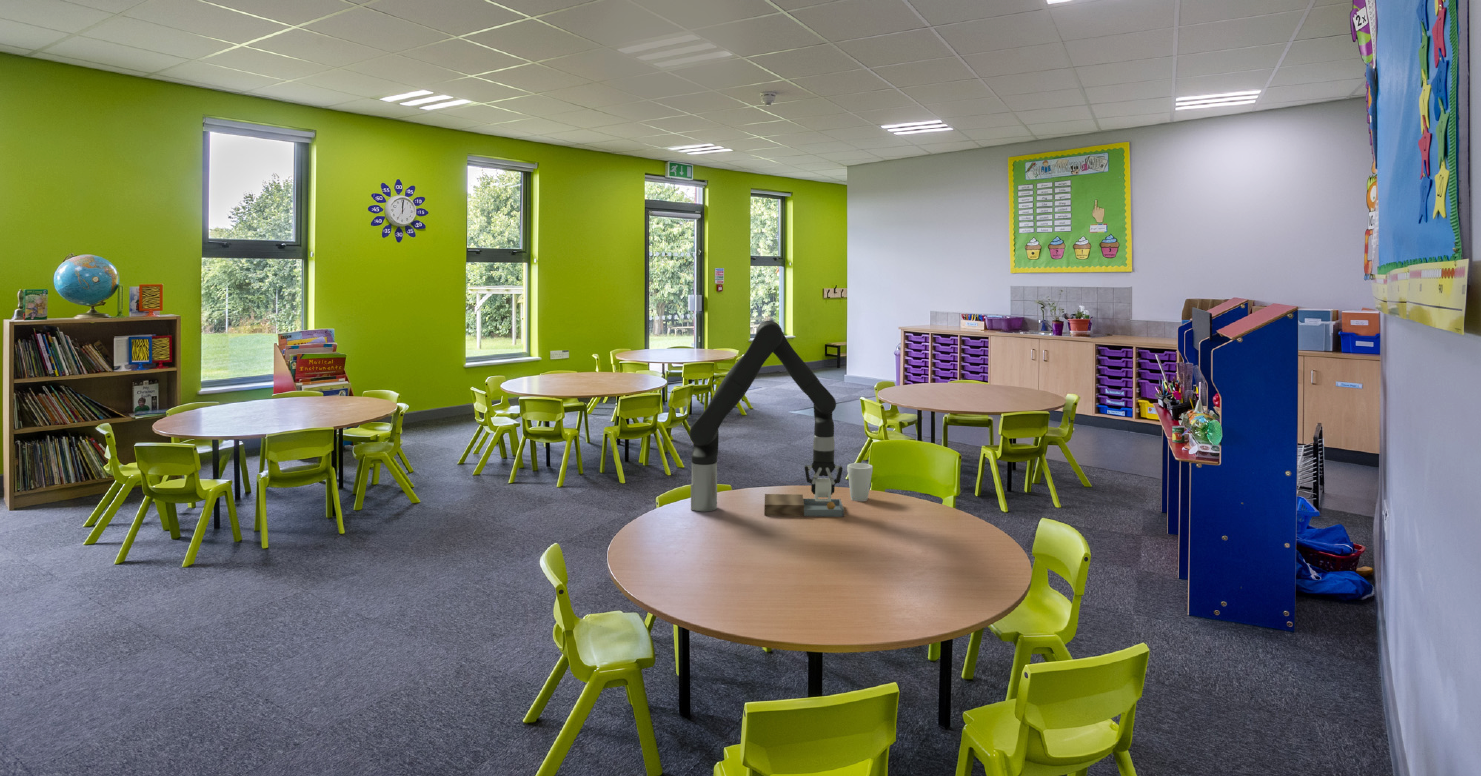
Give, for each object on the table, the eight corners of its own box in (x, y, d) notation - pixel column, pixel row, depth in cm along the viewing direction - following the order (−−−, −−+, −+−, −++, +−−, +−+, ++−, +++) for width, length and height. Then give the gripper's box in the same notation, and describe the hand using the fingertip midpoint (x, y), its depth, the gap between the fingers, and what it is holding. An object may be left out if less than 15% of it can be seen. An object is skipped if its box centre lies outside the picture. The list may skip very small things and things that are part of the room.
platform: (764, 515, 275) (764, 504, 275) (764, 504, 289) (764, 493, 289) (804, 516, 275) (804, 505, 274) (802, 505, 289) (802, 494, 288)
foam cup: (842, 497, 299) (842, 464, 298) (862, 494, 303) (863, 462, 302) (855, 503, 291) (856, 469, 289) (876, 500, 295) (877, 467, 293)
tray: (804, 516, 275) (804, 509, 274) (802, 505, 289) (802, 498, 288) (843, 516, 274) (843, 509, 274) (840, 505, 288) (840, 499, 288)
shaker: (815, 501, 278) (815, 482, 277) (814, 496, 284) (814, 478, 283) (830, 501, 278) (831, 482, 277) (829, 497, 283) (830, 478, 283)
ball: (827, 511, 280) (826, 503, 279) (826, 509, 283) (826, 501, 282) (835, 510, 280) (834, 502, 279) (835, 508, 283) (834, 500, 282)
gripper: (804, 449, 275) (803, 496, 277) (844, 450, 274) (843, 497, 277) (803, 445, 282) (802, 490, 285) (843, 446, 282) (841, 491, 284)
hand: (822, 493), depth 281 cm, fingers closed on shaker, 5 cm apart
